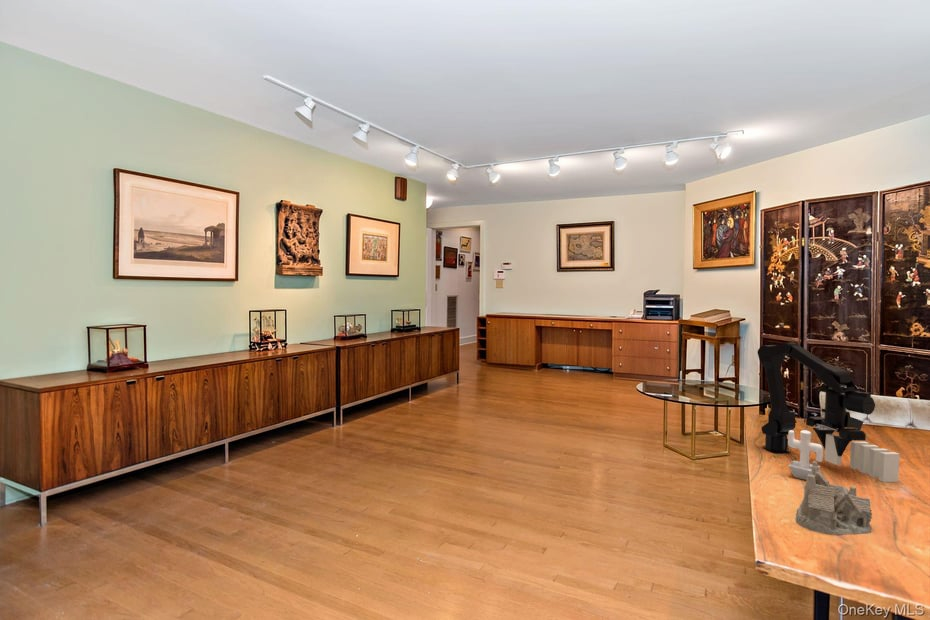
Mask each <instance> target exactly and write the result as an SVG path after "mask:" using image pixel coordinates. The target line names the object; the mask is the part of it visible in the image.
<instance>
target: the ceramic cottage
mask: <svg viewBox="0 0 930 620" xmlns="http://www.w3.org/2000/svg"><path fill="white" fill-rule="evenodd" d="M811 464H812V475H808V477H807V480H805V483H804V489H803V490H804V492H803V499H802V500H801V503H800V504H799V507H798V508H796V513H795V523H796V524H797V525H798V526H800V527H802V528H804V529H807V530H809V531H812V532H816V533H821V534H827V535H831V536H832V535H833V536H842V535H867V534H868V535H869V534H871V533H872V525H871V524H870V523H871V521H872V520H871V519H873V516H872V515H873V512H872V509H871V499H870V498H866V497H861V496H857V487H856V486H854V485H850V486H849V489H848V488H847V487H846V486H845V485H839V484H831V483H830V481H828V480H827V478H826V477H825V476H824V474H823V473H822V471H821V470H820V468H819V467H818V466H819V464H818V461H817V460H815V461H814V460H813V461H812V462H811Z"/></svg>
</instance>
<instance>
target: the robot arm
mask: <svg viewBox="0 0 930 620" xmlns="http://www.w3.org/2000/svg"><path fill="white" fill-rule="evenodd" d="M786 356H790V357H791V358H792V359H794V360H796V361H798V362H799V363H800V364H802V365H803V366H805V367H806V368H808V369H809V370H811V371H813V373H814V374H815V375H816V376H817V378H818V380H820V382H821V383H823V384H824V386H823V387H821V388H819V389H818V391H819V392H821V393H825V398H824V399H825V400H824V401H825V402H824V408H821V412H822V413H824V417H822V416H808V417H807V418H806V419H805V420H806V423H805V425H806V426H809V427H812V430H814V432H815V434H816V435H817V437H818V439H819V441H820V443H821V445H822V447H823V450H825V444H826V434H832V435H833V433H834V432H836V433H838V435H835V436H833V437H834V442H835V447H836V451H837V455H838V456H843V455H844V452H845V450H846V448H847V447H848V446H849V444H850V443H851V442H853V441H866V438H867V434H866V432H865V431H863V430H862V427H863V424H864V421H863V420H860V419H858V418H855V417H852V416H851V412H854V413H859V414H863V415H871V414H873V412H874V411H875V408H876V402H875V399H874V398H873V397H872V393H871V392H867V391H866V392H863V391H860V390H859V388H858V386H857V385H856V383H855V382H854V380H853V379H852V377H851V376H852V375H851V373H850V372H849V371H848V370H846V369H843V368H842V367H840V366H836V365H832V364H829V363H827V362H826V361H823V359H820V357H818V356H816V355H814V354H813V353H811V352H810V351H808V350H807V349H805V348H804V347H802V346H800V344H799V343H797V342H785V343H780V344H770V345H769V344H768V345H761V346H759V348H758V349H757V357H758V359H759V362H760V364H761V366H762V367H763V368H764V369H765V375H766V380H767V386H768V387H767V388H768V395H769V401H770V406H771V408H770V411H769V412H768V416H767V417H768V418H767V419H768V422H767V423H766V424H764V425H763V426H761V431H762V434H764V435H765V442H764V443H765V445H763V446H761V447H762V449H764V450H767V451H768V452H771V453H773V454H787V453H788V454H790V452H791V451H789V450H788V449H789V447H788V446H789V445H788V433H789V431H790V430H793V431H794V429H796V424H797V423H798V422H797V420H796V413H795V411H791V410H790V409H789V408H788V404H787V399H786V393H785V388H784V386H785V385H784V378H783V373H782V367H783V364H784V362H785V357H786Z"/></svg>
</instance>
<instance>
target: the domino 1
mask: <svg viewBox="0 0 930 620" xmlns="http://www.w3.org/2000/svg"><path fill="white" fill-rule="evenodd" d="M833 436H836V435H834V434H833V433H832V434H826V444H825V449H824V461H826V462H827V463H831V464H833V465H836V466H842V456H843V455H842V456H838V455H837V451H836V447H835V442H834V437H833Z"/></svg>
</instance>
